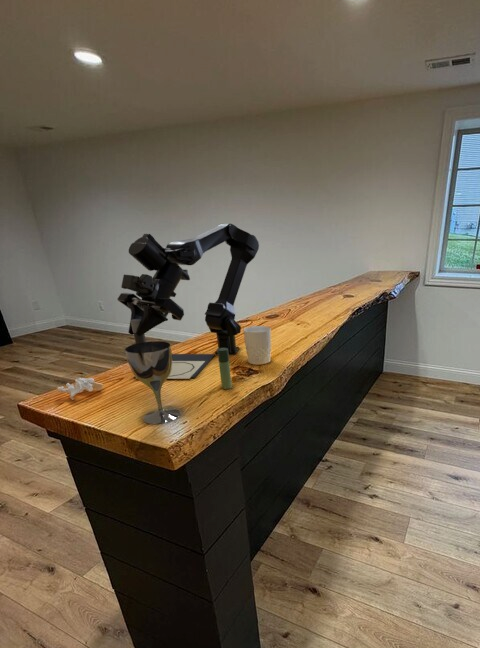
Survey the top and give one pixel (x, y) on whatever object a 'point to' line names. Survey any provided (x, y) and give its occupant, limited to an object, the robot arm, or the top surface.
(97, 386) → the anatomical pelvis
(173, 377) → the sketch pad
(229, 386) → the sage-green marker
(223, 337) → the robot arm
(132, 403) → the top surface
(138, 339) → the cylinder
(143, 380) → the wine glass
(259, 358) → the white cup
